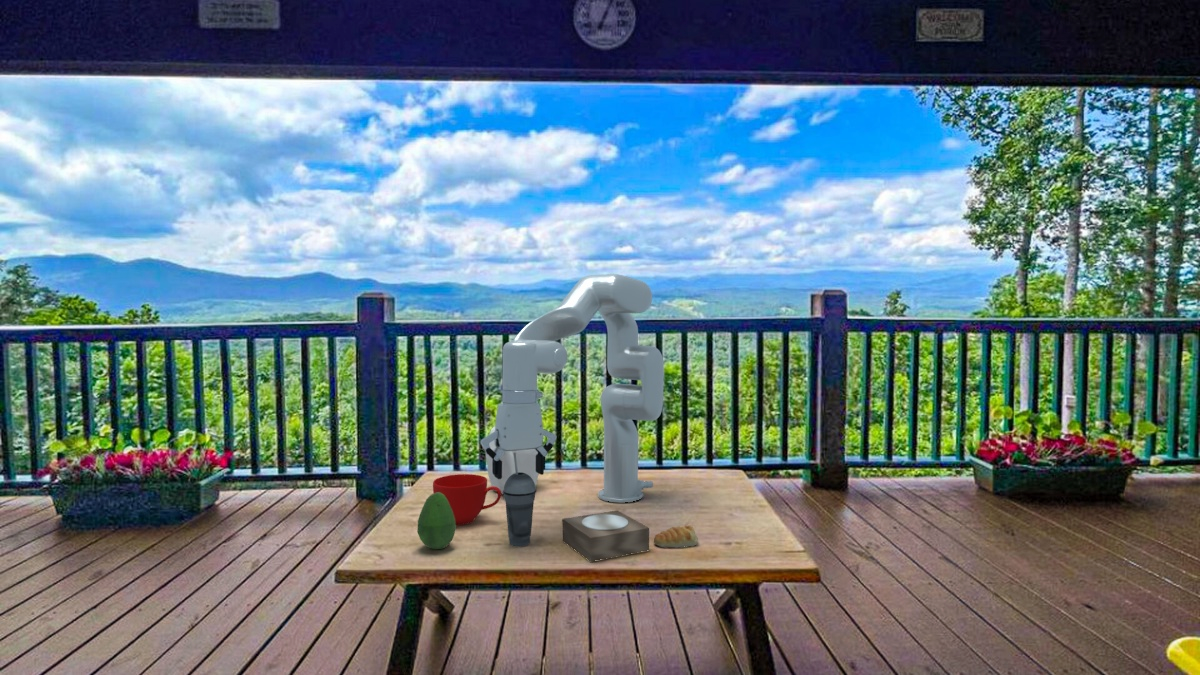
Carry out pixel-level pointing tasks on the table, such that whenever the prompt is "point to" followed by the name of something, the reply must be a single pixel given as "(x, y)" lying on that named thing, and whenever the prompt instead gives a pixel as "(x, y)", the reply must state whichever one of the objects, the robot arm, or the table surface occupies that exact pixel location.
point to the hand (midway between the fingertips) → (519, 475)
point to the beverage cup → (519, 507)
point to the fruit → (436, 522)
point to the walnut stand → (605, 535)
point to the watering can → (512, 465)
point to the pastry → (676, 537)
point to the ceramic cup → (465, 495)
